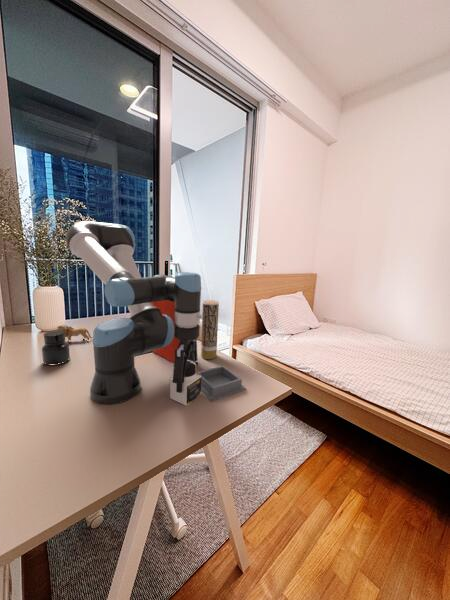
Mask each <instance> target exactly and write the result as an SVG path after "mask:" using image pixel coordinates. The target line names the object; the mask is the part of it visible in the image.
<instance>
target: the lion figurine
mask: <svg viewBox="0 0 450 600" xmlns="http://www.w3.org/2000/svg"><path fill="white" fill-rule="evenodd" d="M56 330H62V331H64V332H65V338H67V340H71V341H72V337H79V336H80V335H81V336H82V337H83V338H85V339H87V340H89V339H91V338H93V336H91V334H90V332H89V330H88V329H87V328H85V327H79V328H74V327H72V326H69V325H66V324H61V325H58V326H57V329H56Z"/></svg>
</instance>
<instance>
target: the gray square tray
mask: <svg viewBox="0 0 450 600" xmlns="http://www.w3.org/2000/svg"><path fill="white" fill-rule="evenodd" d="M196 374H197V375H200V376H201V393H202V394H203V395H205V397H206V398H207V399H209V401H210V402H214V401H218V400H220V399H223V398H226V397H229V396H231V395H234V394H238V393H240V392H243V391H246V390H247V387H245V386H244V385H243V384H242V383H243V379H242V378H241V377H239V376H238V375H237V374H235V373H234V372H233V371H231V370H230V369H229V368H227V367H226V366H225V365H221V366H217V367H213V368H210V369H206V370H202V371H199V372H196Z"/></svg>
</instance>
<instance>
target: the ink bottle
mask: <svg viewBox="0 0 450 600" xmlns="http://www.w3.org/2000/svg"><path fill="white" fill-rule="evenodd" d="M43 341H44V345H43V346H42V347H41V355H42V356H41V357H42V363H43V362H44V363H46V364H58V363H62V362H65V361H67V360H68V359H69V358H70V359H71V354H70V343H67V342H68V341H66V337H65V332H64V331H62V330H57V329H53V330H50V331H46V332H45V333H43ZM70 359H69V360H70ZM69 360H68V361H69ZM68 361H67V362H68ZM44 363H43V364H44ZM65 363H66V362H65Z"/></svg>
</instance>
